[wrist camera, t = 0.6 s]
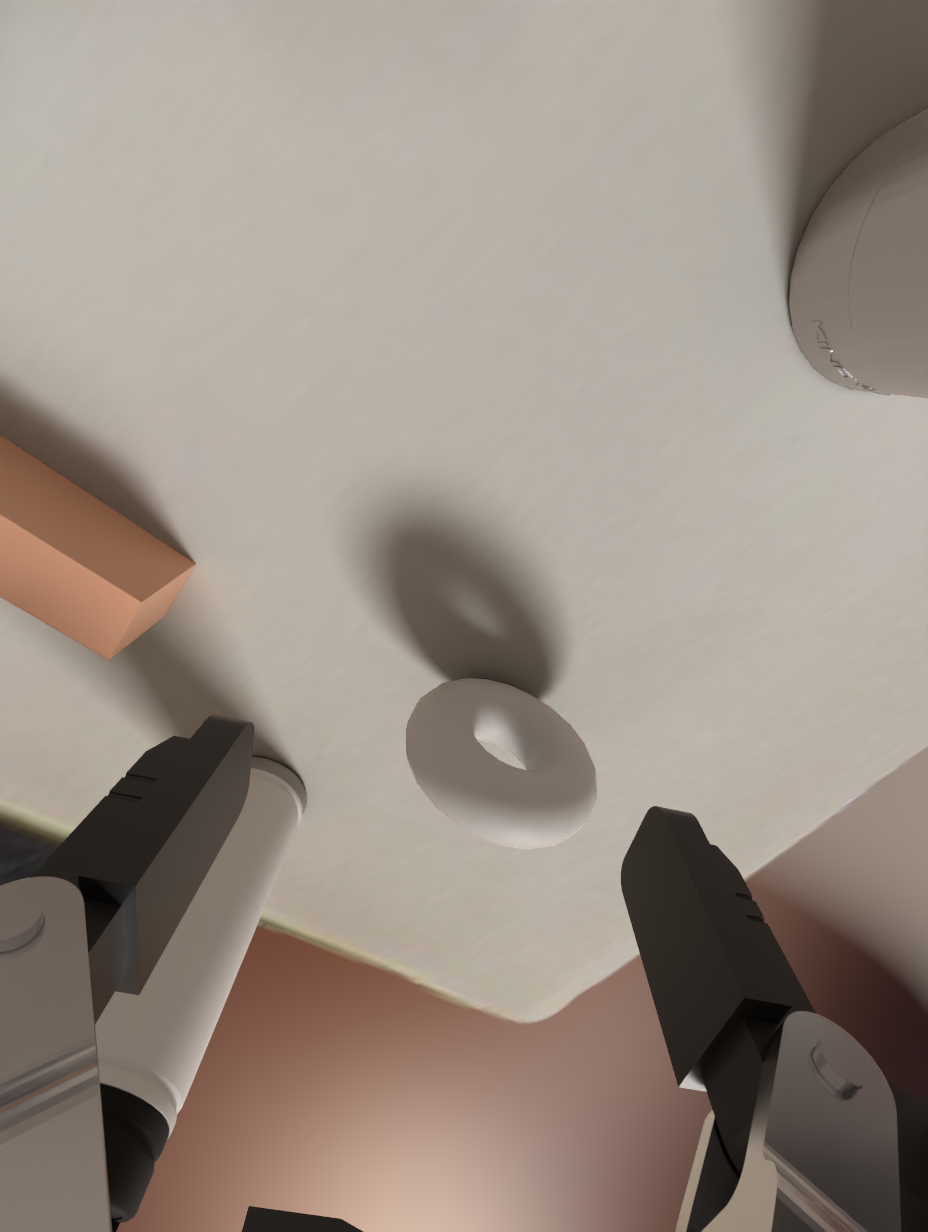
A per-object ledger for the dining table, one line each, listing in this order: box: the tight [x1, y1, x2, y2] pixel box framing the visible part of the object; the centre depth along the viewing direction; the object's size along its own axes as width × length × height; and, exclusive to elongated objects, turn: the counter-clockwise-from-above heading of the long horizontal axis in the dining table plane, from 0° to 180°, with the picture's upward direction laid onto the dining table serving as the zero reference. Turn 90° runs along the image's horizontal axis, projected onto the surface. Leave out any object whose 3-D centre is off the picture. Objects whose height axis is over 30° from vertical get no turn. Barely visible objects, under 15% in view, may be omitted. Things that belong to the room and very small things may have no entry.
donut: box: [406, 678, 597, 850], centre depth 26 cm, size 10×4×10 cm, turn 69°
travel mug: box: [95, 757, 307, 1232], centre depth 26 cm, size 6×7×20 cm
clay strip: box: [0, 435, 196, 660], centre depth 25 cm, size 4×14×5 cm, turn 52°
